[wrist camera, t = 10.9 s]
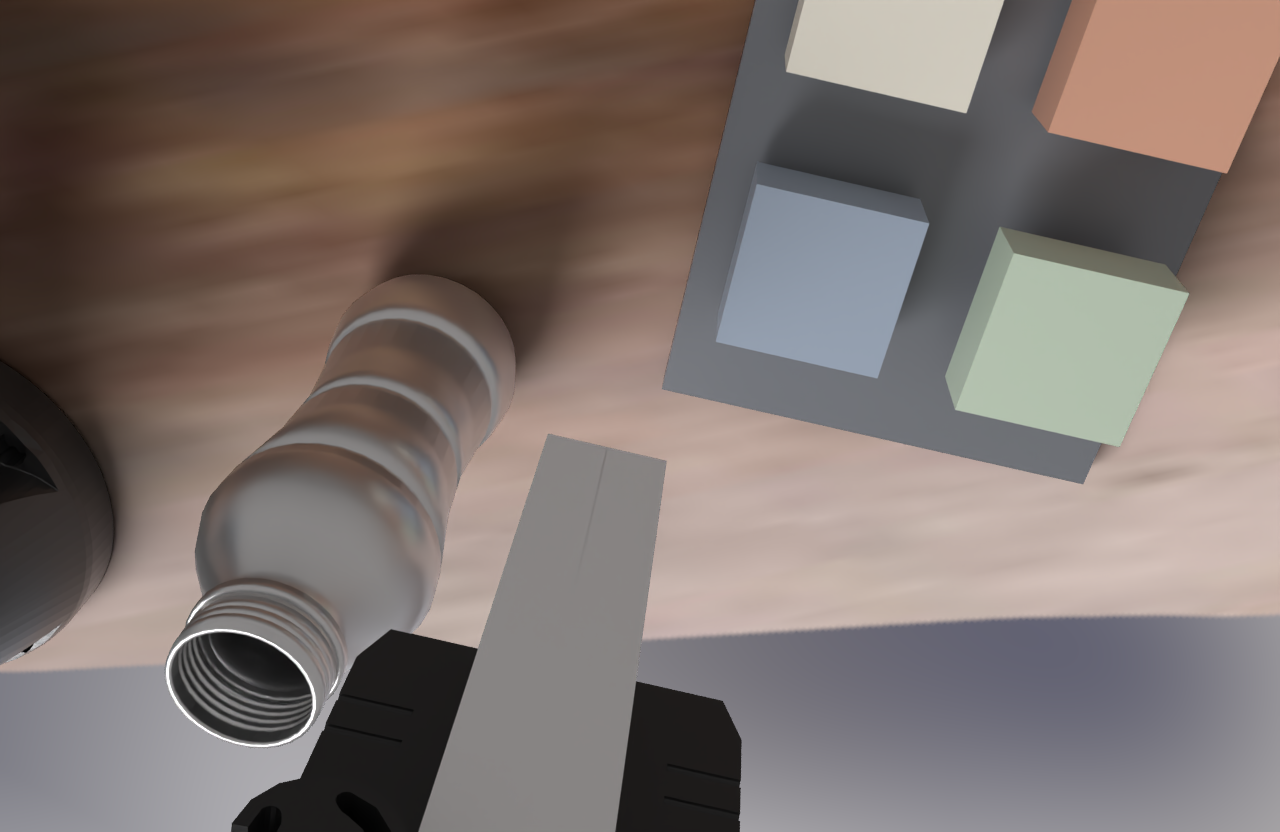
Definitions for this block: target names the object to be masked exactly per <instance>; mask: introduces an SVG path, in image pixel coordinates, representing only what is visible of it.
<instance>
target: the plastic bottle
mask: <svg viewBox="0 0 1280 832" xmlns="http://www.w3.org/2000/svg"><path fill="white" fill-rule="evenodd" d="M515 374H516V359H515V351H514V345H513V342H512V339H511V336H510V333H509V331H508V329H507V327H506V325H505V324H504V322H503V320H502V319H501V317H500V316H499V314H498V313H497V312H496V311H495V310H494V309H493V307H492V306H491V305H490V304H489V303H488V302H487V301H486V300H484V299H483V298H482V297H481V296H479V295H478V294H477V293H476V292H474V291H472V290H471V289H469V288H467V287H465V286H464V285H462V284H460V283H457V282H455V281H452V280H449V279H447V278H444V277H438V276H432V275H406V276H401V277H396V278H393V279H391V280H388V281H386V282H384V283H381V284H380V285H378V286H376V287H375V288H373V289H372V290H370V291H369V292H367V293H366V294H364V295H363V296H362V297H360V298H359V299H357V300H356V301H355V302H353V303H352V305H351V306H350V307H349V308H348V309H347V310H346V312H345V313H344V314H343V316H342V318H341V320H340V322H339V324H338V326H337V328H336V330H335V332H334V335H333V337H332V340H331V342H330V345H329V349H328V353H327V357H326V362H325V366H324V368H323V370H322V372H321V374H320V376H319V378H318V380H317V382H316V384H315V386H314V388H313V390H312V392H311V394H310V396H309V397H308V398H307V400H306V401H305V402H304V403H303V404H302V405H301V407H300V408H299V409H298V410H297V411H296V413H295V414H294V415H293V416H292V417H291V418H290V419H289V421H288V422H287V423H286V424H285V425H284V427H283V428H282V429H280V430H279V431H278V432H277V433H276V434H275V435H273V436H272V437H271V438H270V439H269V440H267V441H266V442H265V443H264V444H263V445H262V446H260V447H259V448H258V449H257V450H256V451H255V452H253V453H252V454H251V455H250V456H249V457H248V458H246V459H245V460H244V461H243V462H242V463H241V464H239V465H238V466H237V467H236V468H235V469H234V470H233V471H232V472H231V473H230V474H229V476H228V477H227V478H226V479H225V480H224V481H223V482H222V483H221V484H220V485H219V486H218V488H217V489H216V490H215V491H214V492H213V493H212V494H211V496H210V498H209V500H208V502H207V504H206V506H205V508H204V510H203V512H202V517H201V522H200V527H199V532H198V537H197V543H196V548H195V563H196V572H197V576H198V580H199V584H200V588H201V592H202V596H203V597H202V598H201V599H200V600H199V601H198V602H197V604H196V605H195V607H194V608H193V609H192V611H191V613H190V615H189V617H188V619H187V621H186V626H185V628H184V630H183V631H182V632H181V634H180V635H179V637H178V638H177V639H176V641H175V642H174V644H173V646H172V648H171V650H170V652H169V655H168V657H167V660H166V665H165V681H166V684H167V687H168V690H169V693H170V695H171V697H172V699H173V700H174V702H175V704H176V705H177V707H178V708H179V709H180V710H181V711H182V713H183V714H184V715H185V716H186V717H187V718H188V719H189V720H190V721H192V722H193V723H194V724H195V725H196V726H198V727H199V728H201V729H202V730H204V731H205V732H207V733H208V734H210V735H213V736H215V737H216V738H219V739H221V740H223V741H226V742H229V743H232V744H235V745H240V746H245V747H250V748H271V747H279V746H281V745H285V744H288V743H291V742H293V741H294V740H296V739H298V738H300V737H301V736H303V735H304V734H305V733H306V732H307V731H308V730H309V729H310V727H311V726H312V725H313V724H314V722H315V721H316V719H317V718H318V716H319V714H320V712H321V710H322V708H323V706H324V704H325V702H326V701H327V700H328V699H329V698H330V697H331V696H332V695H333V694H334V692H335V690H336V689H337V687H338V685H339V684H340V682H341V680H342V678H343V676H344V674H345V671H348V670H351V668H352V665H353V663H354V661H355V659H356V657H357V656H358V655H359V654H360V653H362V652H363V651H364V650H365V649H367V648H368V647H369V646H370V645H372V644H373V643H374V642H375V641H377V640H378V639H379V638H380V637H382V636H383V635H384V634H385V633H387V632H388V631H389V630H390V629H393V630H397V631H402V632H406V633H412V632H413V631H414V630H415V629H417V628H418V627H419V626H420V624H421V623H422V621H423V620H424V618H425V616H426V615H427V613H428V612H429V610H430V607H431V604H432V601H433V598H434V594H435V591H436V587H437V583H438V580H439V576H440V569H441V563H442V556H443V549H444V542H445V535H446V528H447V522H448V515H449V512H450V509H451V505H452V502H453V499H454V496H455V493H456V489H457V486H458V483H459V480H460V477H461V475H462V473H463V472H464V470H465V468H466V467H467V465H468V463H469V462H470V460H471V458H472V457H473V455H474V453H475V452H476V450H477V449H478V448H479V447H480V446H481V445H482V444H483V443H484V442H485V441H486V440H487V439H488V438H489V437H490V436H491V434H492V433H493V432H494V430H495V429H496V427H497V426H498V425H499V423H500V422H501V420H502V419H503V417H504V415H505V414H506V412H507V411H508V409H509V407H510V404H511V401H512V398H513V395H514V388H515Z"/></svg>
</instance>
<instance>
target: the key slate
mask: <svg viewBox="0 0 1280 832" xmlns="http://www.w3.org/2000/svg"><path fill="white" fill-rule="evenodd" d="M928 226H929V221H928V219H927V216H926V213H925V211H924V208H923V205H922V203H921V200H920V199H918V198H913V197H909V196H905V195H900V194H896V193H891V192H887V191H883V190H878V189H874V188H870V187H865V186H861V185H857V184H852V183H848V182H843V181H839V180H835V179H830V178H826V177H822V176H817V175H813V174H809V173H804V172H800V171H796V170H791V169H787V168H782V167H778V166H774V165H769V164H765V163H761V162H757V164H756V168H755V172H754V176H753V179H752V183H751V187H750V191H749V195H748V199H747V203H746V207H745V210H744V214H743V218H742V222H741V226H740V230H739V234H738V238H737V241H736V245H735V249H734V253H733V257H732V261H731V265H730V269H729V273H728V276H727V280H726V284H725V288H724V292H723V296H722V300H721V304H720V307H719V311H718V320H717V332H716V342H719V343H723V344H727V345H732V346H736V347H741V348H745V349H750V350H754V351H758V352H763V353H767V354H772V355H776V356H780V357H785V358H789V359H794V360H798V361H802V362H807V363H811V364H816V365H820V366H824V367H829V368H833V369H838V370H842V371H847V372H851V373H855V374H860V375H864V376H869V377H873V378H878V375H879V372H880V369H881V366H882V363H883V360H884V357H885V354H886V351H887V348H888V345H889V342H890V339H891V336H892V333H893V330H894V327H895V325H896V322H897V319H898V316H899V313H900V310H901V307H902V304H903V301H904V298H905V295H906V292H907V289H908V286H909V283H910V280H911V277H912V274H913V271H914V268H915V265H916V262H917V259H918V256H919V253H920V250H921V247H922V244H923V241H924V238H925V235H926V232H927V229H928Z"/></svg>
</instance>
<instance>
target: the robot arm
mask: <svg viewBox="0 0 1280 832" xmlns="http://www.w3.org/2000/svg"><path fill="white" fill-rule="evenodd" d="M665 469H666V461H665V460H660V459H656V458H652V457H647V456H643V455H639V454H634V453H630V452H626V451H621V450H617V449H613V448H608V447H604V446H600V445H595V444H591V443H587V442H582V441H578V440H574V439H569V438H565V437H561V436H556V435H552V434H548V436H547V439H546V442H545V445H544V448H543V451H542V454H541V457H540V460H539V463H538V466H537V469H536V472H535V475H534V479H533V482H532V485H531V488H530V491H529V494H528V497H527V500H526V503H525V506H524V509H523V512H522V515H521V518H520V522H519V525H518V528H517V531H516V534H515V537H514V540H513V543H512V546H511V549H510V552H509V555H508V558H507V561H506V565H505V568H504V571H503V574H502V577H501V580H500V583H499V586H498V589H497V592H496V595H495V598H494V601H493V604H492V608H491V611H490V614H489V617H488V620H487V623H486V626H485V629H484V632H483V635H482V638H481V641H480V644H479V647H478V649H477V648H472V647H468V646H464V645H459V644H455V643H450V642H446V641H441V640H437V639H433V638H428V637H424V636H419V635H415V634H411V633H406V632H402V631H397V630H393V629H390V630H389V631H388V632H387V633H385V634H384V635H383V636H382V637H380V638H379V639H378V640H377V641H375V642H374V643H373V644H372V645H370V646H369V647H368V648H367V649H365V650H364V651H363V652H362V653H360V654H359V655H358V656H357V657H356V659H355V661H354V663H353V665H352V668H351V670H350V672H349V674H348V676H347V678H346V681H345V683H344V685H343V687H342V689H341V691H340V694H339V698H338V700H337V701H336V702H335V704H334V707H333V709H332V711H331V713H330V715H329V717H328V720H327V722H326V725H325V729H324V731H322V733H321V735H320V737H319V739H318V741H317V743H316V746H315V748H314V750H313V752H312V754H311V756H310V759H309V761H308V763H307V765H306V767H305V769H304V772H303V774H302V776H301V778H300V779H297V780H292V781H288V782H283V783H279V784H277V785H276V786H274V787H272V788H270V789H269V790H267V791H265V792H263V793H262V794H260V795H258V796H257V797H255V798H253V799H251V800H250V802H249V803H248V804H247V805H246V807H245V808H244V809H243V810H242V812H241V813H240V814H239V815H238V817H237V818H236V819H235V820H234V821H233V823H232V829H231V832H740V821H739V815H740V789H741V788H739V785H740V781H741V738H740V736H739V734H738V732H737V730H736V728H735V726H734V724H733V721H732V719H731V717H730V715H729V713H728V711H727V709H726V707H725V705H724V703H723V701H720V700H716V699H711V698H707V697H703V696H698V695H694V694H690V693H685V692H681V691H676V690H672V689H667V688H663V687H659V686H654V685H650V684H645V683H641V682H637V681H636V678H637V671H638V664H639V657H640V649H641V642H642V635H643V628H644V620H645V613H646V606H647V599H648V591H649V584H650V577H651V570H652V563H653V555H654V548H655V541H656V534H657V526H658V519H659V512H660V505H661V498H662V490H663V483H664V476H665ZM113 532H114V528H113V515H112V507H111V503H110V498H109V494H108V491H107V487H106V484H105V481H104V479H103V476H102V474H101V471H100V469H99V467H98V465H97V463H96V460H95V459H94V457H93V455H92V453H91V451H90V449H89V448H88V446H87V445H86V443H85V441H84V440H83V438H82V437H81V435H80V434H79V433H78V431H77V430H76V429H75V427H74V426H73V425H72V423H71V422H70V421H69V420H68V418H67V417H66V416H65V415H64V414H63V413H62V412H61V410H60V409H59V408H58V407H57V406H56V405H55V404H54V403H53V402H52V401H51V400H50V399H49V398H48V397H47V396H46V395H45V394H44V393H43V392H41V391H40V390H39V389H38V388H37V387H36V386H34V385H33V384H32V383H31V382H30V381H28V380H27V379H26V378H24V377H23V376H22V375H20V374H19V373H18V372H16V371H15V370H13V369H12V368H10V367H9V366H7V365H6V364H4V363H2V362H1V361H0V665H1V664H3V663H6V662H9V661H12V660H14V659H17V658H19V657H21V656H23V655H25V654H27V653H29V652H31V651H33V650H35V649H37V648H38V647H40V646H42V645H43V644H45V643H46V642H47V641H49V640H50V639H51V638H53V637H54V636H55V635H56V634H57V633H58V632H60V631H61V630H62V629H63V628H64V627H65V626H66V625H67V624H68V623H69V622H70V620H71V619H72V618H73V617H74V616H75V614H76V613H77V612H78V611H79V610H80V608H81V607H82V606H83V605H84V604H85V602H86V601H87V600H88V599H89V598H90V596H91V595H92V594H93V592H94V591H95V590H96V588H97V587H98V585H99V583H100V582H101V580H102V578H103V576H104V574H105V572H106V569H107V566H108V563H109V560H110V556H111V552H112V545H113Z"/></svg>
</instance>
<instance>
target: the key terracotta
mask: <svg viewBox="0 0 1280 832" xmlns="http://www.w3.org/2000/svg"><path fill="white" fill-rule="evenodd" d="M1279 57H1280V0H1072V2H1071V4H1070V7H1069V10H1068V13H1067V15H1066V18H1065V21H1064V24H1063V26H1062V29H1061V32H1060V35H1059V38H1058V40H1057V43H1056V46H1055V49H1054V51H1053V54H1052V57H1051V60H1050V62H1049V65H1048V68H1047V71H1046V74H1045V76H1044V79H1043V82H1042V85H1041V87H1040V90H1039V93H1038V96H1037V99H1036V101H1035V104H1034V107H1033V110H1032V113H1033V114H1034V116H1035V117H1036V118H1037V119H1038V121H1039V122H1040V123H1041V124H1042V125H1043V127H1044V128H1045V129H1046V130H1047V132H1049V133H1053V134H1058V135H1062V136H1066V137H1071V138H1075V139H1079V140H1084V141H1088V142H1092V143H1097V144H1101V145H1105V146H1110V147H1114V148H1118V149H1123V150H1127V151H1131V152H1136V153H1140V154H1144V155H1149V156H1153V157H1157V158H1162V159H1166V160H1170V161H1175V162H1179V163H1183V164H1188V165H1192V166H1196V167H1201V168H1205V169H1209V170H1214V171H1218V172H1222V173H1228V170H1229V168H1230V166H1231V164H1232V162H1233V159H1234V157H1235V155H1236V153H1237V150H1238V148H1239V146H1240V144H1241V141H1242V139H1243V137H1244V135H1245V133H1246V130H1247V128H1248V126H1249V124H1250V121H1251V119H1252V117H1253V115H1254V112H1255V110H1256V108H1257V106H1258V104H1259V101H1260V99H1261V97H1262V95H1263V92H1264V90H1265V88H1266V86H1267V84H1268V81H1269V79H1270V77H1271V75H1272V72H1273V70H1274V68H1275V66H1276V63H1277V61H1278V59H1279Z"/></svg>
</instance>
